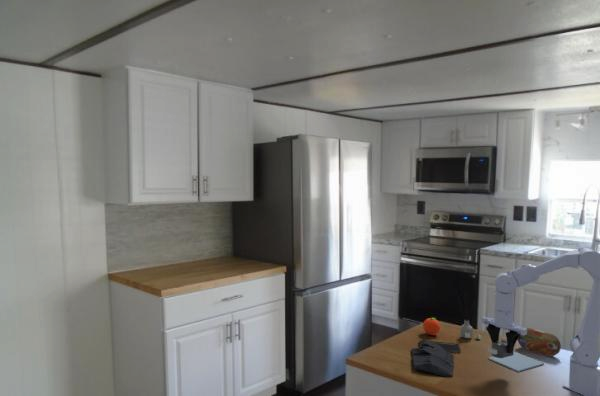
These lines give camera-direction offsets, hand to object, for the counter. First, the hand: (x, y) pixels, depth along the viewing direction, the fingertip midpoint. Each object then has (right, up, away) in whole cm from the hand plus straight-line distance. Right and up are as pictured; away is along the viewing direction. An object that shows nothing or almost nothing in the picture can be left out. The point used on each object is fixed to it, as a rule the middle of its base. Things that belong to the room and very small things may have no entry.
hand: (502, 350), depth 143 cm
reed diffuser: (+2, -7, +35) cm, 36 cm away
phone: (-13, -8, +24) cm, 28 cm away
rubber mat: (+10, -8, +11) cm, 17 cm away
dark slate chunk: (-21, -9, +10) cm, 24 cm away
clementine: (-12, -7, +38) cm, 41 cm away
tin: (+23, -8, +20) cm, 32 cm away
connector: (0, -1, 0) cm, 1 cm away
